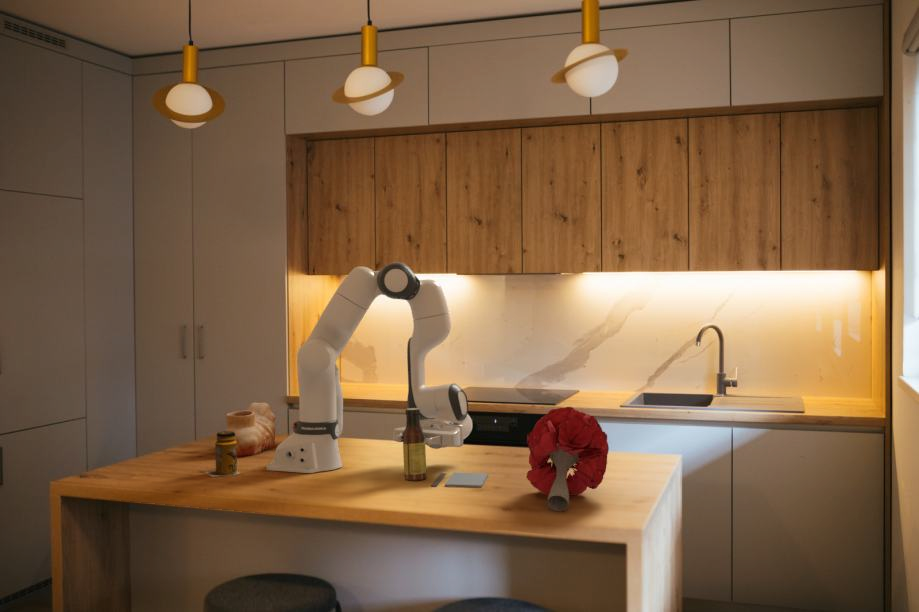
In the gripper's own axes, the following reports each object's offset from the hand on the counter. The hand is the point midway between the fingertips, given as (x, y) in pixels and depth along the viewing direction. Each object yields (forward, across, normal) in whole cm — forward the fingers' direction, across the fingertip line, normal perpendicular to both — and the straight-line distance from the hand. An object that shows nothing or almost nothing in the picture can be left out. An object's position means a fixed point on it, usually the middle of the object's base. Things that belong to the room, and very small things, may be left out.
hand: (412, 440), depth 246 cm
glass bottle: (-37, -58, +11) cm, 70 cm away
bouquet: (+1, +46, +11) cm, 47 cm away
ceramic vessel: (-12, -71, +11) cm, 73 cm away
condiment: (+19, -54, +11) cm, 58 cm away
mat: (-6, +14, +11) cm, 19 cm away
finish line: (-3, +7, +11) cm, 13 cm away
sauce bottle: (-1, 0, +11) cm, 11 cm away
